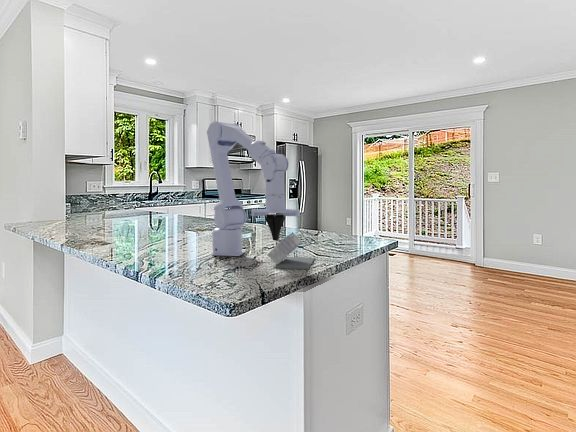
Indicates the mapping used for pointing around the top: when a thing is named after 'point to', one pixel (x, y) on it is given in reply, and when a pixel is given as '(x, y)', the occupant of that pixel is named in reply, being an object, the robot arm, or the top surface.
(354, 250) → the top surface
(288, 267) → the slate mat
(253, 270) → the top surface
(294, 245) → the medicine box
